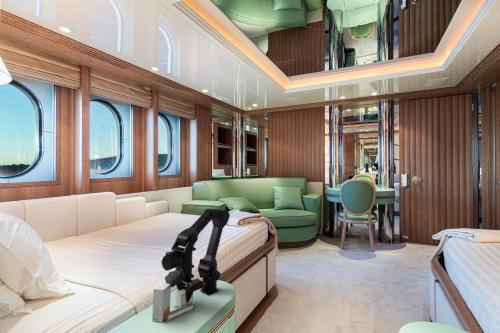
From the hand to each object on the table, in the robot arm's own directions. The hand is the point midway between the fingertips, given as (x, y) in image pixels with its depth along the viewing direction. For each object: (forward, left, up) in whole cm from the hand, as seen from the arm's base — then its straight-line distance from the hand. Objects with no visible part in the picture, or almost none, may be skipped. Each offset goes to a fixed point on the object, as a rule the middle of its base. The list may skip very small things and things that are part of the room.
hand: (184, 300), depth 108 cm
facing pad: (0, 0, -2) cm, 2 cm away
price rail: (+5, +5, -2) cm, 7 cm away
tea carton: (0, 0, -1) cm, 1 cm away
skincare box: (+11, +1, -2) cm, 11 cm away
